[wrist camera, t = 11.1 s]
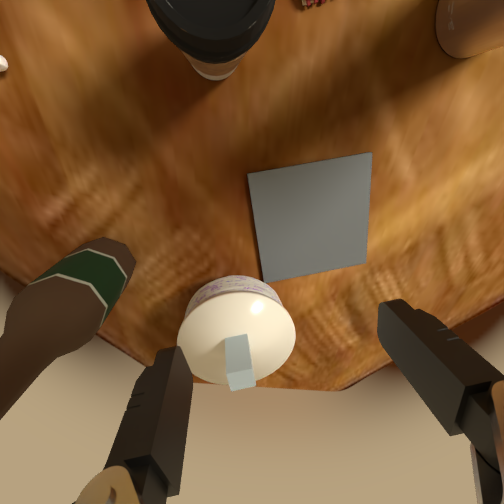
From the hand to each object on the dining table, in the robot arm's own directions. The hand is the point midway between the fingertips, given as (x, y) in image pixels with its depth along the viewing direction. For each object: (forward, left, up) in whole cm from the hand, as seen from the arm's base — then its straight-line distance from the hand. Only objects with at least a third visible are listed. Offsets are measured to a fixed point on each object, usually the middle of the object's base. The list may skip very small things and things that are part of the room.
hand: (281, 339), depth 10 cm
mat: (-10, +5, -26) cm, 29 cm away
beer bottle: (+20, +5, -27) cm, 33 cm away
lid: (+4, +17, -18) cm, 26 cm away
